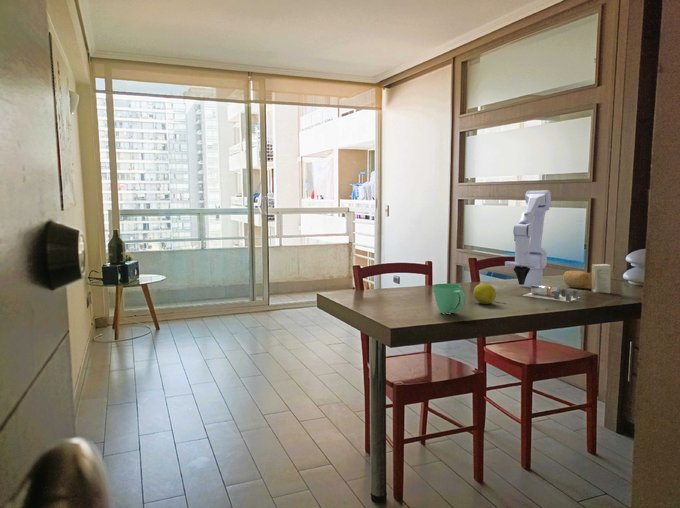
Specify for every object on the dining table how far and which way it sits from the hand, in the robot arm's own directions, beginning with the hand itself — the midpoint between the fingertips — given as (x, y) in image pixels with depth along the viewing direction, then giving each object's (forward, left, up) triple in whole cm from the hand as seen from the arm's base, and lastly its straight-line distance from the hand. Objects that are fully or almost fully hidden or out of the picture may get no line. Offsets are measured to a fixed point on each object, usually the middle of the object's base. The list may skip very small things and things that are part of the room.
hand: (521, 284), depth 212 cm
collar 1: (+16, 0, -4) cm, 17 cm away
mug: (-1, -50, -5) cm, 50 cm away
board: (+12, 0, -4) cm, 13 cm away
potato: (+11, +29, -5) cm, 31 cm away
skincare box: (+23, +24, -5) cm, 34 cm away
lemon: (-2, -26, -5) cm, 26 cm away
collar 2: (+21, 0, -4) cm, 21 cm away
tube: (+10, 0, -4) cm, 11 cm away
